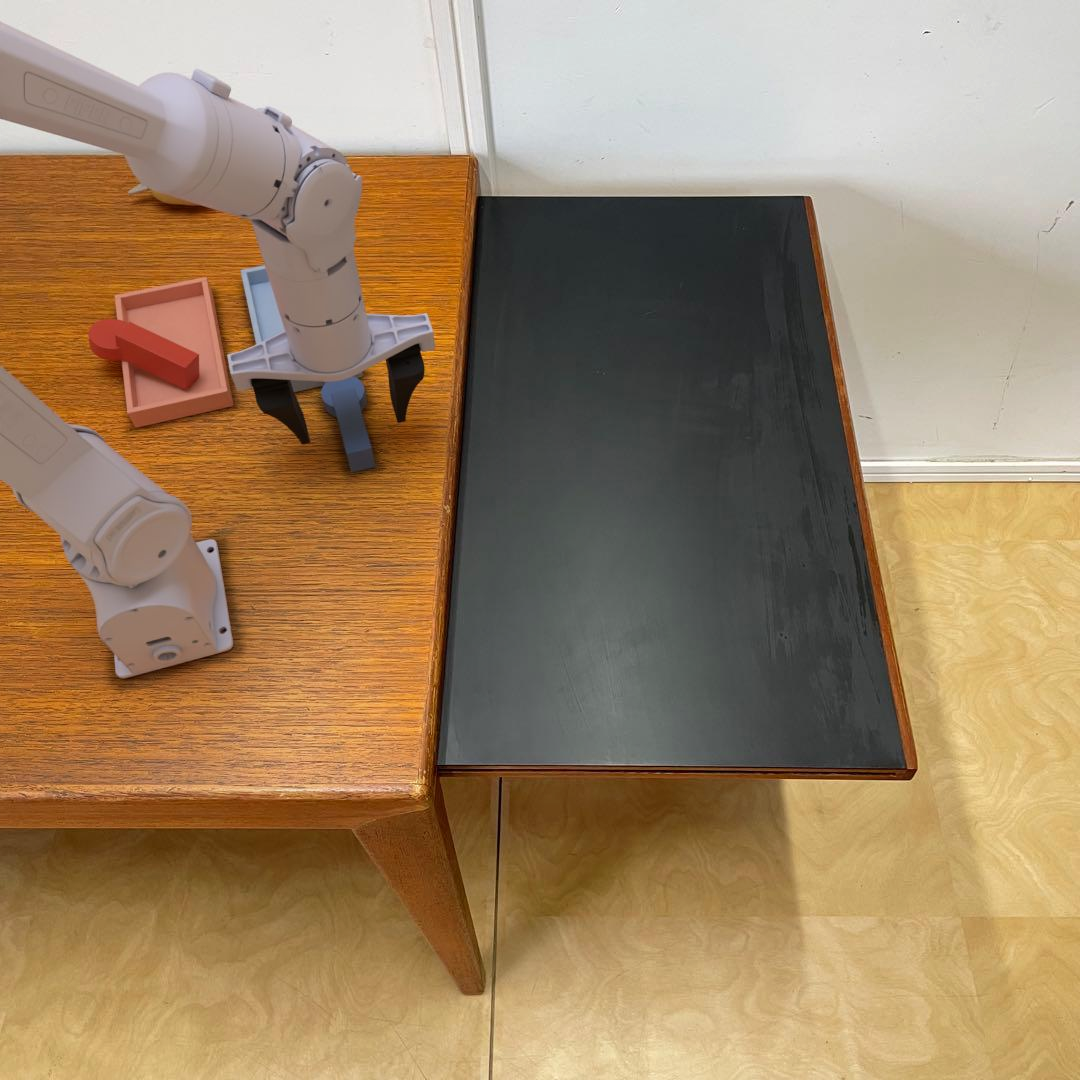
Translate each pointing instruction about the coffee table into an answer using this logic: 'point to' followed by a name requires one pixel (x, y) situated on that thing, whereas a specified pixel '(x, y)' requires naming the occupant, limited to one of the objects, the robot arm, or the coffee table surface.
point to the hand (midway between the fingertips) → (352, 423)
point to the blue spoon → (350, 419)
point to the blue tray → (268, 314)
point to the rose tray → (187, 323)
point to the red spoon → (144, 351)
